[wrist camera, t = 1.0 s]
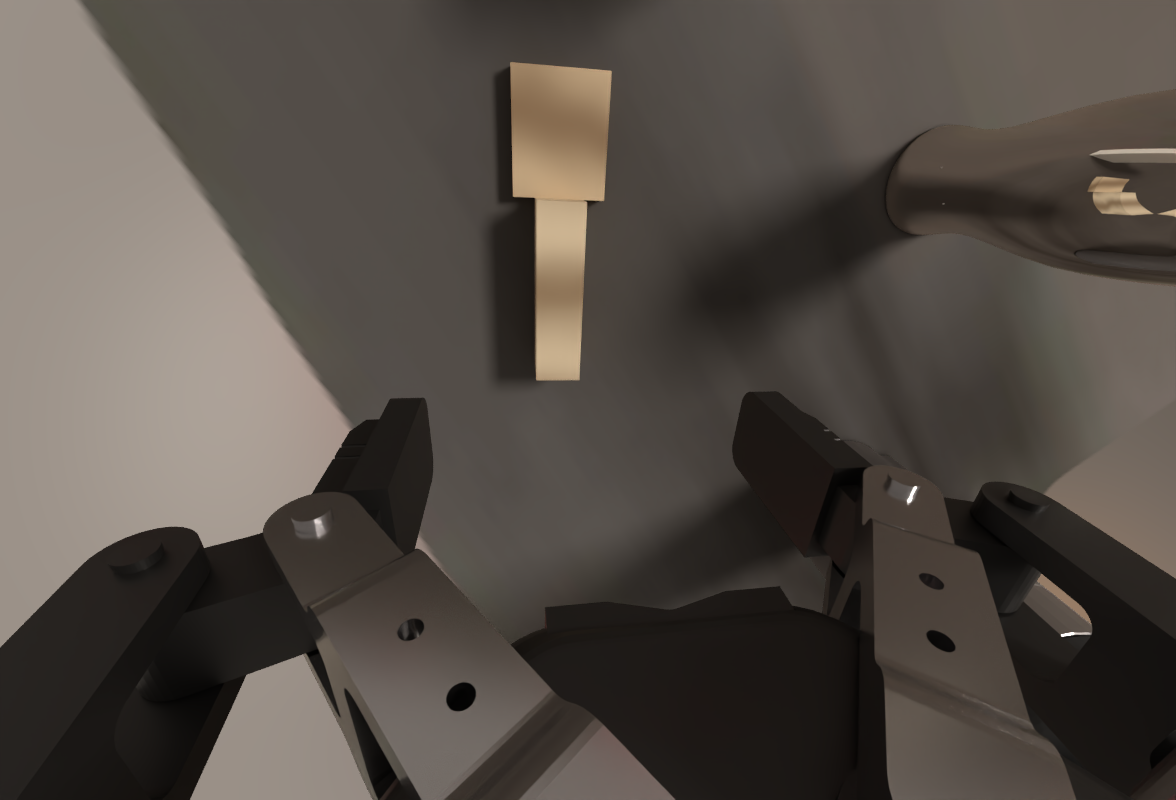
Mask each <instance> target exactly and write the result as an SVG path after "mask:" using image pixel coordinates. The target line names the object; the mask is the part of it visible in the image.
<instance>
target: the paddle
mask: <svg viewBox="0 0 1176 800" xmlns="http://www.w3.org/2000/svg"><path fill="white" fill-rule="evenodd" d="M510 68H511V120H512V171H513V197H529V198H535V370H536V380H579V373H580V351H581V328H582V306H583V284H584V262H585V240H586V218H587V202H585V201H584V200H593V201H604V190H605V174H606V157H607V140H608V123H609V106H610V90H611V73H612V71H606V70H595V69H583V68H572V67H560V66H548V65H537V64H525V63H514V62H510Z"/></svg>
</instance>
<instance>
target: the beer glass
mask: <svg viewBox="0 0 1176 800" xmlns="http://www.w3.org/2000/svg"><path fill="white" fill-rule="evenodd" d="M886 208H887V212H888V215H889V217H890V219H891V221H892V222H893V223H894V225H895V226H896V227H898V228H899V229H900V230H902V231H904V232H906V233H909V234H914V235H933V234H950V233H952V234H960V235H965V236H969V237H972V238H975V239H978V240H980V241H983V242H985V243H988V244H990V245H993V246H995V247H998V248H1000V249H1003V250H1005V251H1008V252H1010V253H1013V254H1015V255H1018V256H1020V257H1023V258H1025V259H1028V260H1032V261H1035V262H1038V263H1041V264H1044V265H1047V266H1050V267H1053V268H1057V269H1062V270H1066V271H1071V272H1075V273H1080V274H1084V275H1089V276H1095V277H1102V278H1108V279H1114V280H1121V281H1129V282H1137V283H1145V284H1154V285H1163V286H1173V287H1176V89H1173V90H1166V91H1159V92H1153V93H1146V94H1139V95H1133V96H1128V97H1124V98H1120V99H1115V100H1111V101H1106V102H1102V103H1098V104H1093V105H1089V106H1086V107H1082V108H1078V109H1075V110H1071V111H1067V112H1064V113H1060V114H1056V115H1053V116H1049V117H1046V118H1042V119H1039V120H1035V121H1032V122H1028V123H1024V124H1020V125H1016V126H1012V127H1007V128H1000V129H982V128H976V127H970V126H963V125H944V126H940V127H937V128H934V129H932V130H929V131H927V132H926V133H924V134H922V135H921V136H919V137H918V138H917V139H915V140H914V141H913V142H912V143H911V144H910V145H909V146H908V147H907V148H906V149H905V150H904V152H903V153H902V154H901V156H900V157H899V159H898V160H897V162H896V163H895V165H894V167H893V169H892V172H891V174H890V177H889V180H888V184H887V188H886Z"/></svg>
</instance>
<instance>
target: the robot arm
mask: <svg viewBox="0 0 1176 800" xmlns="http://www.w3.org/2000/svg"><path fill="white" fill-rule="evenodd" d="M732 453H733V459H734V462H735V465H736V467H737V468H738V470H739V471H740V472H741V474H742V475H743V476H744V478H745V479H746V480H747V482H748V483H749V484H750V486H751V487H752V488H753V490H754V491H755V492H756V494H757V495H758V496H759V498H760V499H761V500H762V502H763V503H764V504H765V506H766V507H767V508H768V510H769V511H770V512H771V514H772V515H773V516H774V518H775V519H776V520H777V522H778V523H779V524H780V526H781V527H782V528H783V530H784V531H785V532H786V534H787V535H788V536H789V538H790V539H791V540H792V542H793V543H794V544H795V546H796V547H797V548H798V549H799V551H800V552H801V553H802V555H803V556H804V557H809V558H810V559H811V560H812V562H813V563H814V564H815V566H816V567H817V568H818V570H819V571H820V572H821V574H822V575H823V577H824V578H825V579H826V580H825V590H824V599H823V608H822V613H819V612H816V611H813V610H810V609H805V608H801V607H797V606H792V605H791V603H790V602H789V600H788V599H787V597H786V596H785V594H784V593H783V591H782V589H781V588H780V586H778V587H767V588H756V589H745V590H734V591H725V592H722V593H719V594H716V595H714V596H711V597H708V598H705V599H703V600H700V601H697V602H694V603H691V604H689V605H686V606H683V607H680V608H677V609H673V610H665V609H657V608H649V607H641V606H634V605H626V604H618V603H611V602H600V603H589V604H578V605H567V606H555V607H545V628H544V629H541V630H538V631H535V632H533V633H531V634H529V635H527V636H525V637H523V638H521V639H519V640H517V641H516V642H514V643H512V644H511V645H510V644H509V643H508V642H507V641H506V640H505V638H504V637H503V636H502V635H501V634H500V633H499V632H498V631H497V630H496V629H495V628H494V627H493V626H492V624H491V623H490V622H489V621H488V620H487V619H486V618H485V617H484V616H483V615H482V614H481V613H480V611H479V610H478V609H477V608H476V607H475V606H474V605H473V604H472V603H471V602H470V601H469V600H468V599H467V597H466V596H465V595H464V594H463V593H462V592H461V591H460V590H459V589H458V588H457V587H456V586H455V585H454V583H453V582H452V581H451V580H450V579H449V578H448V577H447V576H446V575H445V574H444V573H443V572H442V571H441V569H440V568H439V567H438V566H437V565H436V564H435V563H434V562H433V561H432V560H431V559H430V558H429V557H428V555H426V554H425V553H424V552H423V551H422V550H420V549H415V546H416V542H417V538H418V534H419V530H420V526H421V522H422V518H423V514H424V510H425V506H426V502H427V498H428V494H429V490H430V486H431V482H432V476H433V453H432V444H431V436H430V427H429V418H428V410H427V404H426V400H425V398H394V399H390V400H389V402H388V404H387V406H386V408H385V410H384V412H383V414H382V415H381V417H380V419H376V420H365V421H364V422H363V423H361V424H360V425H358V426H357V427H355V428H354V429H353V430H351V431H350V432H349V434H348V435H347V437H346V439H345V440H344V442H343V443H342V448H339V450H338V452H337V453H336V455H335V459H333V460H332V462H331V463H330V465H329V467H328V468H327V470H326V472H325V473H324V475H323V476H322V478H321V480H320V481H319V483H318V485H317V486H316V488H315V490H314V491H313V493H312V494H311V495H307V496H304V497H301V498H298V499H296V500H294V501H291V502H290V503H288V504H286V505H284V506H283V507H281V508H280V509H278V510H277V511H276V512H275V513H273V514H272V515H271V516H270V518H269V519H268V520H267V522H266V523H265V525H264V528H263V533H260V534H257V535H254V536H250V537H246V538H243V539H238V540H234V541H230V542H227V543H223V544H219V545H215V546H211V547H207V548H204V547H203V545H202V542H201V540H200V538H199V536H198V534H197V533H196V532H195V531H193V530H191V529H188V528H184V527H165V528H157V529H153V530H149V531H145V532H141V533H138V534H135V535H132V536H130V537H127V538H124V539H122V540H120V541H118V542H116V543H114V544H112V545H110V546H108V547H106V548H104V549H103V550H102V551H100V552H98V553H96V554H95V555H94V556H92V557H91V558H89V559H88V560H87V561H86V562H85V563H84V564H83V565H82V566H81V567H80V568H78V570H77V571H76V572H75V573H74V574H73V575H72V576H71V577H70V578H69V579H68V580H67V581H66V582H65V583H64V584H63V585H62V586H61V587H60V588H59V589H58V590H57V591H56V592H55V593H54V594H53V595H52V596H51V597H50V598H49V599H48V600H47V601H46V602H45V603H44V604H43V605H42V606H41V607H40V608H39V609H38V610H37V611H36V612H35V613H34V614H33V615H32V616H31V617H30V618H29V619H28V620H27V621H26V622H25V623H24V624H23V625H22V626H21V627H20V628H19V629H18V630H17V631H16V632H15V633H14V634H13V635H12V636H11V637H10V638H9V639H8V640H7V641H6V642H5V643H4V644H3V645H2V646H1V648H0V800H190V798H191V796H192V794H193V791H194V789H195V787H196V785H197V783H198V780H199V778H200V776H201V774H202V771H203V769H204V766H205V765H206V763H207V760H208V758H209V756H210V754H211V752H212V750H213V747H214V745H215V743H216V741H217V738H218V736H219V734H220V732H221V730H222V727H223V725H224V723H225V721H226V719H227V716H228V714H229V712H230V710H231V708H232V705H233V703H234V701H235V699H236V697H237V694H238V692H239V690H240V688H241V686H242V683H243V681H244V679H245V677H246V675H247V674H250V673H252V672H255V671H258V670H261V669H263V668H266V667H269V666H272V665H274V664H277V663H280V662H283V661H285V660H288V659H291V658H294V657H296V656H299V655H302V654H304V657H305V659H306V661H307V663H308V665H309V667H310V669H311V671H312V673H313V675H314V677H315V679H316V680H317V683H318V684H319V686H320V688H321V690H322V692H323V694H324V696H325V698H326V700H327V702H328V704H329V706H330V708H331V710H332V712H333V714H334V716H335V718H336V720H337V722H338V724H339V726H340V728H341V730H342V732H343V734H344V736H345V738H346V741H347V743H348V745H349V747H350V750H351V752H352V755H353V757H354V760H355V762H356V764H357V767H358V770H359V772H360V774H361V776H362V779H363V781H364V783H365V785H366V787H367V789H368V791H369V793H370V795H371V798H372V799H373V800H1176V579H1175V578H1174V577H1172V576H1171V575H1169V574H1168V573H1166V572H1164V571H1163V570H1161V569H1160V568H1158V567H1157V566H1155V565H1154V564H1152V563H1151V562H1149V561H1147V560H1146V559H1144V558H1143V557H1141V556H1140V555H1138V554H1137V553H1135V552H1133V551H1132V550H1130V549H1129V548H1127V547H1126V546H1124V545H1123V544H1121V543H1120V542H1118V541H1117V540H1115V539H1113V538H1112V537H1110V536H1109V535H1107V534H1106V533H1104V532H1103V531H1101V530H1100V529H1098V528H1097V527H1095V526H1093V525H1092V524H1090V523H1089V522H1087V521H1086V520H1084V519H1082V518H1081V517H1080V516H1078V515H1077V514H1075V513H1073V512H1072V511H1070V510H1068V509H1067V508H1066V507H1064V506H1063V505H1061V504H1060V503H1058V502H1056V501H1055V500H1053V499H1051V498H1049V497H1047V496H1045V495H1043V494H1041V493H1039V492H1037V491H1034V490H1031V489H1029V488H1026V487H1023V486H1019V485H1015V484H1011V483H1005V482H988V483H985V484H984V485H983V486H982V487H981V489H980V491H979V493H978V495H977V497H976V499H975V501H974V502H971V501H964V500H957V499H951V498H944V497H943V495H942V493H941V491H940V490H939V489H938V488H937V487H936V486H935V485H934V484H933V483H931V482H930V481H928V480H927V479H925V478H923V477H921V476H919V475H917V474H915V473H913V472H910V471H908V470H907V469H906V468H904V467H903V466H902V465H901V464H899V463H898V462H897V461H895V460H894V459H893V458H892V457H890V456H888V455H885V456H882V455H879V454H878V453H876V452H875V451H874V450H873V449H871V448H870V447H869V446H867V445H864V444H862V443H859V442H855V441H840V438H839V437H838V436H837V435H835V434H834V433H833V432H832V431H829V429H828V428H827V427H826V426H824V425H823V424H822V423H821V422H820V421H818V420H817V419H816V418H814V417H812V416H810V415H808V414H806V413H804V412H802V411H801V410H799V409H798V408H797V407H796V406H795V405H793V404H792V403H791V402H790V401H789V400H787V399H786V398H785V397H784V396H783V395H782V394H780V393H779V392H776V391H774V392H748V393H746V394H745V396H744V397H743V400H742V404H741V408H740V413H739V417H738V422H737V427H736V431H735V436H734V440H733V446H732ZM1041 574H1043V575H1044V576H1045V577H1047V578H1048V579H1049V580H1050V581H1052V582H1053V583H1054V584H1055V585H1056V586H1058V587H1059V588H1060V589H1062V590H1063V591H1064V592H1065V593H1066V594H1067V595H1069V596H1070V597H1071V598H1072V599H1074V600H1075V601H1076V602H1077V603H1079V604H1080V605H1081V606H1082V607H1083V608H1084V610H1085V611H1086V613H1087V614H1088V616H1089V618H1090V620H1091V623H1092V625H1091V624H1090V623H1089V622H1088V621H1086V620H1085V619H1084V618H1083V617H1081V616H1080V615H1079V614H1078V613H1076V612H1075V611H1074V610H1073V609H1071V608H1070V607H1069V606H1068V605H1066V604H1065V603H1064V602H1063V601H1061V600H1060V599H1059V598H1058V597H1056V596H1055V595H1054V594H1053V593H1051V592H1050V591H1048V590H1047V589H1046V588H1045V587H1043V586H1042V585H1041V584H1040V583H1038V582H1037V580H1038V578H1039V577H1040V575H1041Z"/></svg>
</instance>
